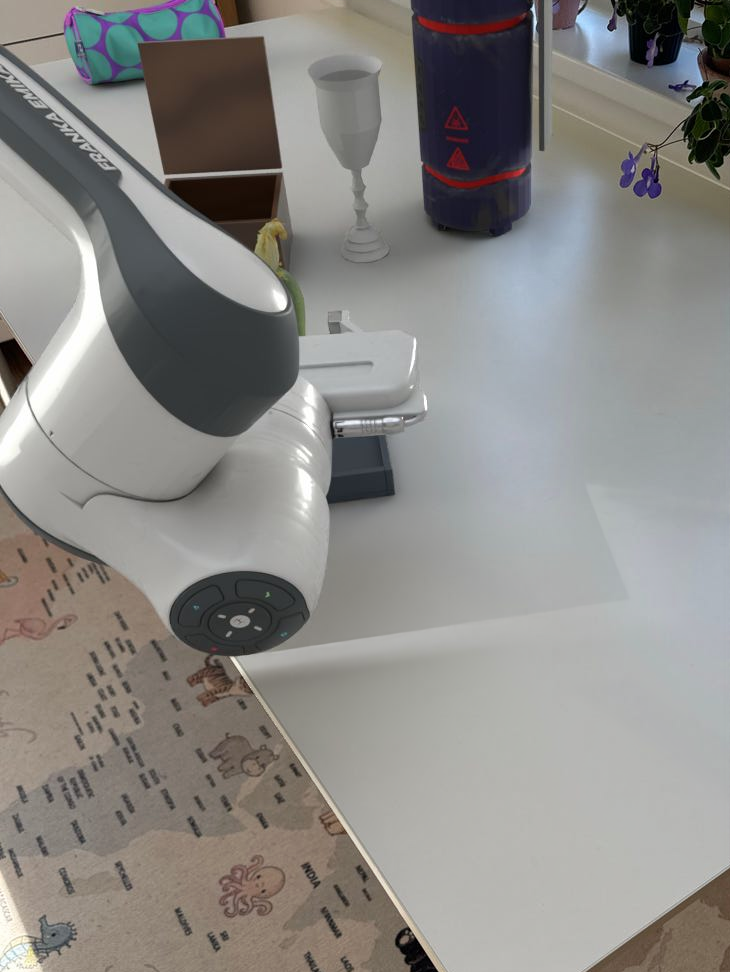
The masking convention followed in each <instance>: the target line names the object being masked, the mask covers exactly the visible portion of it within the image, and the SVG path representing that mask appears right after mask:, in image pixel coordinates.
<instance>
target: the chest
mask: <svg viewBox="0 0 730 972" xmlns="http://www.w3.org/2000/svg"><path fill="white" fill-rule="evenodd" d="M163 184H164V185H165V186H166V187H167V188H168V189H169V190H171V191H172V192H173V193H174V194H175V195H176V196H178V197H179V198H180V199H181V200H183V201H184V202H185V203H187V204H188V205H189V206H191V207H192V208H194V209H195V210H196V211H198V212H199V213H201V214H202V215H204V216H205V217H207V218H208V219H209V220H211V221H212V222H214V223H215V224H217V225H218V226H219V227H221V228H222V229H224V230H225V231H227V232H228V233H229V234H231V235H232V236H233V237H235V238H236V239H238V240H239V241H240V242H242V243H243V244H244V245H245V246H247V247H248V248H249V249H251V250H252V251H253V252H254V251H255V248H256V244H257V243H258V241H257V239H258V236H257V235H258V234H259V235H260V234H261V233H259V232H258V231H259V230H261V229H262V228H263V227H264V226H265V225H266V223H267V224H268V223H269V222H271V221H272V220H273V219H275V218H276V219H278V220H279V221H280V222H281V224H282V226H283V228H284V229H285V231H286V232H287V237H286V238H287V239H284V240H283V238H280V237H279V235H280V233H278V234H277V235H275V239H276V241H277V246H278V251H279V262H281V263H282V266H278V267H280V268H283V269H284V270H286V271H287V272H288V273H289V270H290V269H289V268H290V259H291V251H292V250H291V249H292V239H293V227H292V221H291V215H290V208H289V203H288V195H287V190H286V183H285V177H284V172H283V171H279V172H260V173H242V174H241V173H240V174H223V175H205V176H188V177H187V176H186V177H184V176H183V177H170V178H169V177H168V178H165V180H164V183H163ZM283 223H285V225H284V224H283Z"/></svg>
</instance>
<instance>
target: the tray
mask: <svg viewBox="0 0 730 972" xmlns="http://www.w3.org/2000/svg"><path fill="white" fill-rule="evenodd" d="M386 435H387V434H386ZM386 435H375V436H361V437H346V438H334V439H332V470H331V482H330V486H329V490H328V493H327V495H326V499H327V503H328V504H335V503H341V502H348V501H356V500H363V499H371V498H378V497H384V496H386V497H387V496H393V495H396V490H395V478H394V470H393V465H392V460H391V455H390V450H389V445H388V439H387V436H386Z"/></svg>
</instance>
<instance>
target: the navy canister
mask: <svg viewBox="0 0 730 972" xmlns="http://www.w3.org/2000/svg"><path fill="white" fill-rule="evenodd" d="M534 4H535V0H410V10H411V11H412V12H413V14H411V29H412V45H413V47H412V48H413V62H414V76H415V77H414V78H415V92H416V94H415V95H416V108H417V123H418V124H417V125H418V138H419V140H418V141H419V154H420V155H419V156H420V162H421V163H422V165H421V179H422V180H421V181H422V195H423V197H422V198H423V210H424V212H425V214H426V215H427V216H428V217H429V219H430V223H431V224H432V225H433V227H434V228H436V229H437V230H438V231H444V230H446V227H447V228H451V229H454V230H460V231H471V232H473V231H474V232H475V231H487V230H488V234H489V235H490V236H492V237H497V236H500V235H504V234H506V233H509V232H510V231H511V230H513V222H516V221H518V220H519V219H521V218H523V217H524V216H525V215H526V214H527V213H528V212H529V210H530V208H531V205H532V162H531V161H532V158H533V113H534V112H533V111H534V110H533V108H534V107H533V106H534V105H533V103H534V99H533V97H534V38H535V37H534V30H535V29H534V28H535V27H534V24H535V23H534V22H535V14H534V12H533V10H532V9H533V7H534ZM553 4H554V3H553V0H537V10H538V11H537V13H538V14H537V17H538V19H537V21H538V22H537V23H538V26H537V27H538V28H537V31H538V32H537V33H538V36H537V37H538V40H537V41H538V151H539V152H545V151H546V149H548V146H549V144H550V142H551V140H552V138H553Z"/></svg>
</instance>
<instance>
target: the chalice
mask: <svg viewBox="0 0 730 972" xmlns="http://www.w3.org/2000/svg"><path fill="white" fill-rule="evenodd" d="M382 67H383V62H382V61H381V60H380V59H379V58H377V57H375V56H372V55H369V54H362V53H344V54H336V55H332V56H327V57H324V58H321V59H319V60H316V61H315V62H313V63H311V64H310V65H309V66H308V68H307V74H308V76H309V77H310V79H311V80H312V82H313V84H314V88H315V95H316V104H317V111H318V120H319V125H320V128H321V131H322V133H323V135H324V137H325V140H326V142H327V144H328V146H329V148H330V150H332V153H333V154H334V156H335V157H336V159H337V161H338V162H339V165H341V167H342V168H343V169H345V170H349V171H350V172H351V176H352V180H351V185H350V187H349V188H350V191H351V192H352V193H353V196H354V201H353V203H352V205H351V208H352V209H353V211H355V215H356V223H355V224H354V225H353V226H351V227H350V228H349V229H348V230H347V232H346V234H345V238H344V241H343V246H342V249H341V251H340V254H341V256H342V257H343V258H344V259H345V260H348V261H349V262H353V263H373V262H375V261H379V260H382V259H383V258H384V257H386V256H387V254H389V251H390V248H389V246H388V244H387V243H386V242H385V238H384V236H382V233H381V231H380V230H379V228H377V226H375V225H373V224H371V223H370V222H369V221H368V220H367V217H366V216H367V215H366V214H367V209H368V208H369V206H370V205H369V203H368V202H367V201H366V200H365V197H364V195H365V190H366V188H367V186H366V185H365V183H364V181H363V178H362V171H363V169H364V168H366V167H367V166H369V165H370V163H371V159H372V156H373V154H374V150H375V148H376V145H377V142H378V139H379V135H380V129H381V124H382V109H381V97H380V87H379V85H380V84H379V76H380V73H381V70H382Z"/></svg>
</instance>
